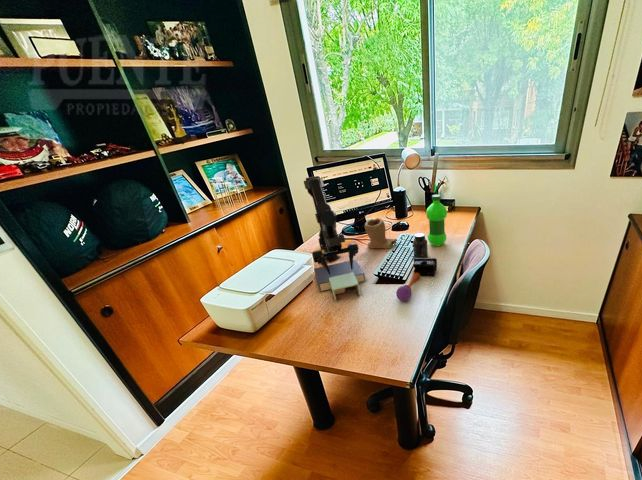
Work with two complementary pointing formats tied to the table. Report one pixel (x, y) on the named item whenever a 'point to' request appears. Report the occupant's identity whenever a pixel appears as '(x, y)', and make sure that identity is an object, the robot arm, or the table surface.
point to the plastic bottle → (436, 221)
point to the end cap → (425, 266)
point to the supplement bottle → (420, 246)
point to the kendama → (407, 288)
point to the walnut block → (350, 288)
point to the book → (337, 273)
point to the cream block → (339, 291)
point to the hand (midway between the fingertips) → (341, 271)
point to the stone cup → (378, 234)
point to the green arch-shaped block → (343, 282)
